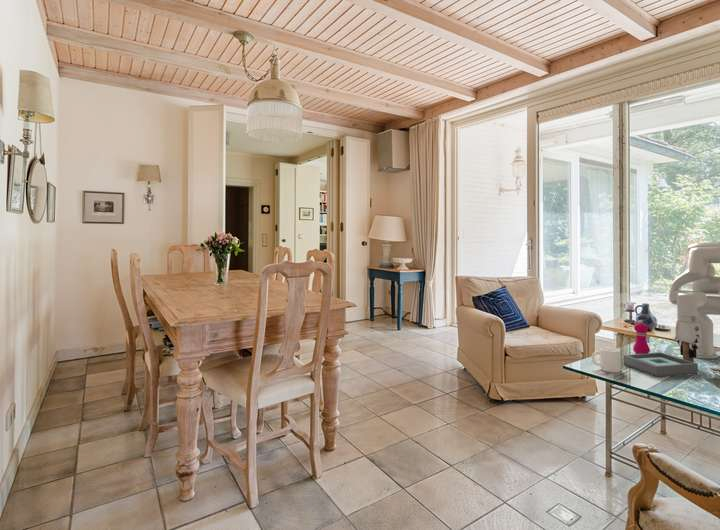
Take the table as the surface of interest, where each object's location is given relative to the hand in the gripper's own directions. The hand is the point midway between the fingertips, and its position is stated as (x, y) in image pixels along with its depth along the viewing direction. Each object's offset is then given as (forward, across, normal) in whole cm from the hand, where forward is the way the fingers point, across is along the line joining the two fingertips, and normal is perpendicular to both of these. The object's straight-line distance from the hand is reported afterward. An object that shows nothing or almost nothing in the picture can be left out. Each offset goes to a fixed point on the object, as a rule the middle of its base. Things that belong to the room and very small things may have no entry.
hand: (688, 355), depth 191 cm
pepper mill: (+6, +19, +9) cm, 21 cm away
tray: (+5, 0, +16) cm, 16 cm away
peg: (+4, 0, 0) cm, 4 cm away
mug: (+5, +5, +39) cm, 39 cm away
